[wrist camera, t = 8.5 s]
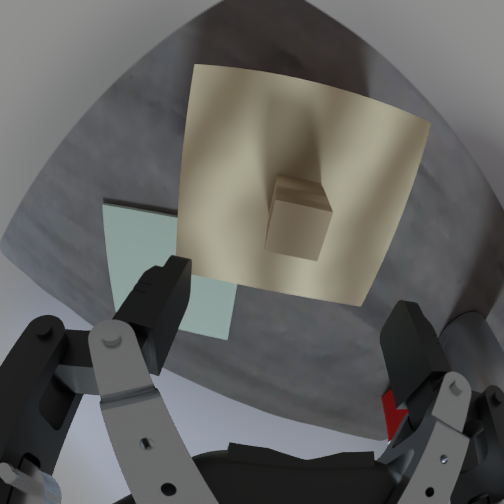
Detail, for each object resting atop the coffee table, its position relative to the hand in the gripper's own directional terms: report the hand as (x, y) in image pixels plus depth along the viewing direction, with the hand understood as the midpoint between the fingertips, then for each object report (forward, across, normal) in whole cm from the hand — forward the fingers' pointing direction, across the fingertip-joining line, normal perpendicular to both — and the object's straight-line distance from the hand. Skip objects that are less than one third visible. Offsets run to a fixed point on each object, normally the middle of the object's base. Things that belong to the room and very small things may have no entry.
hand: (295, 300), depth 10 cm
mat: (+20, +12, +17) cm, 29 cm away
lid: (+11, 0, 0) cm, 11 cm away
